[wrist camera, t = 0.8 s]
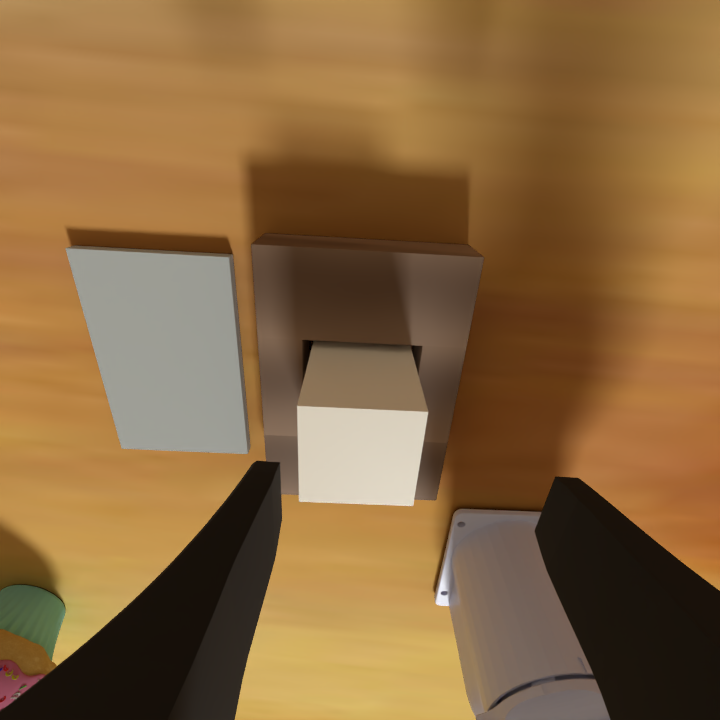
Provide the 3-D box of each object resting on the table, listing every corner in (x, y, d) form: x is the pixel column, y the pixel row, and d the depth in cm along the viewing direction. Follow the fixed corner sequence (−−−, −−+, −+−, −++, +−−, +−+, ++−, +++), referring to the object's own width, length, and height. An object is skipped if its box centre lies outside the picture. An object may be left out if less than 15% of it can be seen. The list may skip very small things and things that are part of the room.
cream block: (397, 405, 21) (412, 506, 15) (316, 401, 21) (299, 501, 15) (406, 330, 19) (428, 412, 13) (317, 326, 19) (296, 405, 13)
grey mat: (250, 446, 23) (247, 453, 22) (127, 441, 23) (121, 448, 22) (232, 254, 18) (229, 257, 17) (74, 245, 18) (65, 248, 17)
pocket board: (428, 467, 23) (436, 500, 21) (277, 461, 23) (268, 493, 21) (468, 244, 18) (484, 257, 15) (265, 233, 17) (251, 244, 15)
